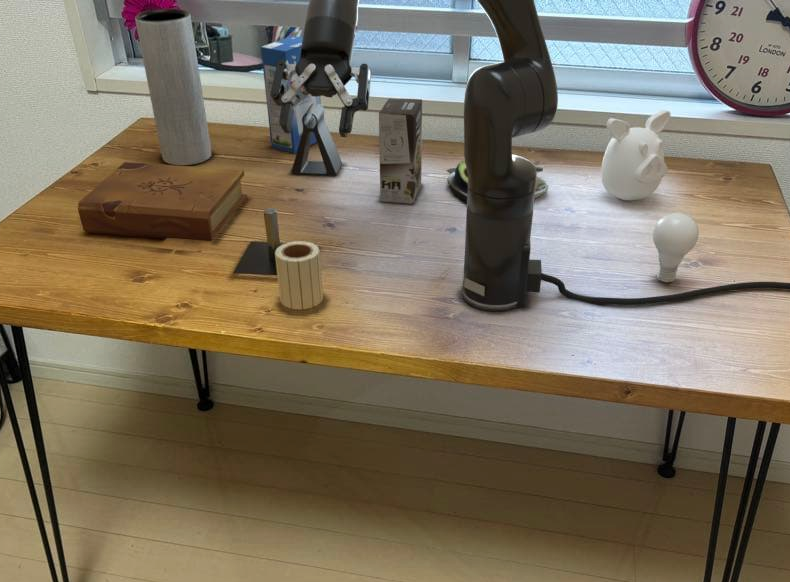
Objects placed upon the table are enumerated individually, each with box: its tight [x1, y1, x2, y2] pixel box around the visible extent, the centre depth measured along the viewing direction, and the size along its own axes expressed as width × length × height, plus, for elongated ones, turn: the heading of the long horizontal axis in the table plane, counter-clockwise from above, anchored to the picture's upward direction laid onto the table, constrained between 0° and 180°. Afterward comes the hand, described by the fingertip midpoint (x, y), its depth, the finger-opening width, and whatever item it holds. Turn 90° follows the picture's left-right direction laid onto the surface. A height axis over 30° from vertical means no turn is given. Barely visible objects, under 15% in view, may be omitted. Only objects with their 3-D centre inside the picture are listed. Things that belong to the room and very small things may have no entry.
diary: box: [77, 161, 248, 241], centre depth 142 cm, size 23×19×6 cm
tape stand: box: [232, 207, 317, 277], centre depth 127 cm, size 11×11×9 cm
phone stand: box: [291, 103, 343, 177], centre depth 157 cm, size 9×6×12 cm, turn 81°
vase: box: [134, 8, 212, 166], centre depth 158 cm, size 10×10×27 cm
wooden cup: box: [275, 240, 324, 311], centre depth 117 cm, size 6×6×8 cm
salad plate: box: [445, 160, 549, 204], centre depth 151 cm, size 19×18×5 cm
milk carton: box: [260, 35, 322, 154], centre depth 166 cm, size 10×6×20 cm, turn 147°
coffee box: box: [378, 98, 423, 205], centre depth 146 cm, size 9×6×16 cm
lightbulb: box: [652, 211, 699, 284], centre depth 121 cm, size 6×6×11 cm
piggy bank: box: [600, 109, 671, 201], centre depth 144 cm, size 12×12×15 cm
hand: (314, 133), depth 118 cm, fingers open, 8 cm apart
